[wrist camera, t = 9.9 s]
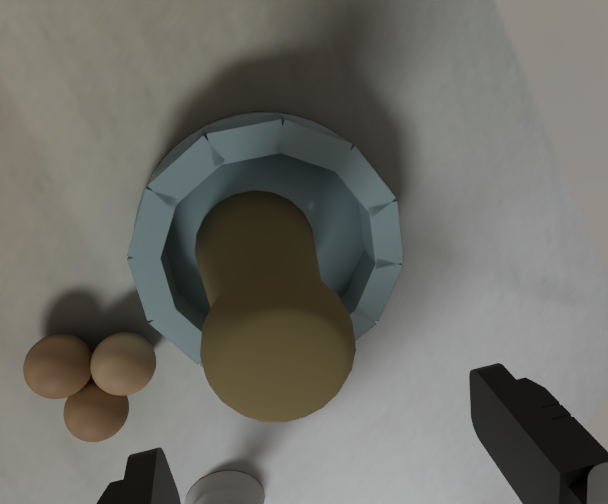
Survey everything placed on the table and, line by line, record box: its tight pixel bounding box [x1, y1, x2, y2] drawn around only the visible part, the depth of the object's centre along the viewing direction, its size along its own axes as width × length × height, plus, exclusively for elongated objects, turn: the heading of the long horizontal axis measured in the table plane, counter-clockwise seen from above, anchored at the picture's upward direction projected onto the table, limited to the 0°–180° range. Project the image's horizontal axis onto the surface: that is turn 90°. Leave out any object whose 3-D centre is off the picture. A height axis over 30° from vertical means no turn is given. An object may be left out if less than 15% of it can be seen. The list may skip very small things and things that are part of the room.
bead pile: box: [23, 332, 156, 442], centre depth 27 cm, size 6×6×3 cm
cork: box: [195, 190, 356, 422], centre depth 21 cm, size 6×6×11 cm
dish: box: [127, 111, 404, 366], centre depth 26 cm, size 13×13×3 cm
